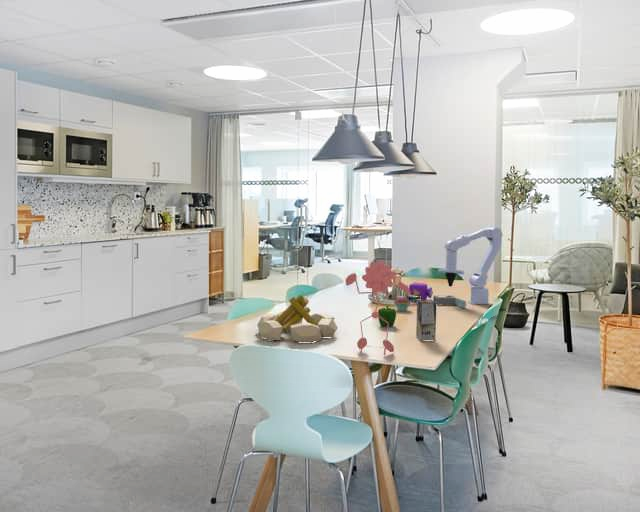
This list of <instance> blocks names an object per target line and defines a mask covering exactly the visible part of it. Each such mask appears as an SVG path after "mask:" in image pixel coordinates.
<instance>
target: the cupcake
mask: <svg viewBox="0 0 640 512" xmlns="http://www.w3.org/2000/svg"><path fill="white" fill-rule="evenodd" d="M406 294H407V293H406V292H404V294H403V296H399V297H396V298H395V299H394V300H393V304H394V305H395V306H396V309H397V310H396V311H398V312H406V311H407V310H408V308H409V305H411V301H412V300H409V297H408V298H407V297H406Z"/></svg>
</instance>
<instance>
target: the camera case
mask: <svg viewBox="0 0 640 512" xmlns="http://www.w3.org/2000/svg"><path fill="white" fill-rule="evenodd" d="M456 298H457V297H456V296H454V295H433V298H432V299H433V300H432V301H433V302H435V303H436V304H442V305H441V306H457V305H456ZM443 304H444V305H443Z"/></svg>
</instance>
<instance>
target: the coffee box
mask: <svg viewBox="0 0 640 512" xmlns="http://www.w3.org/2000/svg"><path fill="white" fill-rule="evenodd" d="M436 323H437V305H436V303H435V302H433V300H432V299H426V300H417V301H416V332H415V333H416V334H415V336H417V337H418V338H419V339H420V340H435V341H436V330H437V326H436V325H437V324H436ZM417 337H416V338H417ZM418 338H417V339H418ZM419 339H418V340H419ZM420 340H419V341H420Z"/></svg>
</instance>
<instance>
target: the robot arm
mask: <svg viewBox="0 0 640 512" xmlns="http://www.w3.org/2000/svg"><path fill="white" fill-rule="evenodd" d="M483 237H485V238H486V239H487V240H488V241H489V248H488V249H487V252H486V253H485V255H484V257H483V259H482V261H481V263H480V265H479V266H478V269H477V270H475V271H474V272H473V274H472V275H471V276H470V277H469V279H468V280H469V284H470V300H468V301H467V302H468V303H470V304H471V305H489V288H488V287H485V286H486V285H487V280H488V274H489V273H488V272H489V271H490V268H491V267H492V264H493V263H494V260H495V259H496V258H497V255H498V253H499V251H500V249H501V247H502V239H503V238H502V237H503V232H502V230H501V228H499V227H494V226H493V227H492V226H487V227H484V228H482V229H480V230H478V231H475V232H473V233H471V234H469V235H466V234H461V235H460V236H459V237H456V238H452V240H447V241H446V243H445V245H444V248H445V250H446V255H445V268H438V270H437V273H438V274H439V273H441V274H443V273H444V276H445V277H446V280H447V284H448V287H451V288H452V287H453V285H454V281H455V279H456V277H457V275H465V270H460V269H457V264H458V263H457V262H458V261H457V260H458V256H457V255H458V250H459V249H461V248H463V247H466V246H468V245H470V243H471V242H472V241H473V242H474V241H476V240H477V239H480V238H483Z"/></svg>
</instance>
